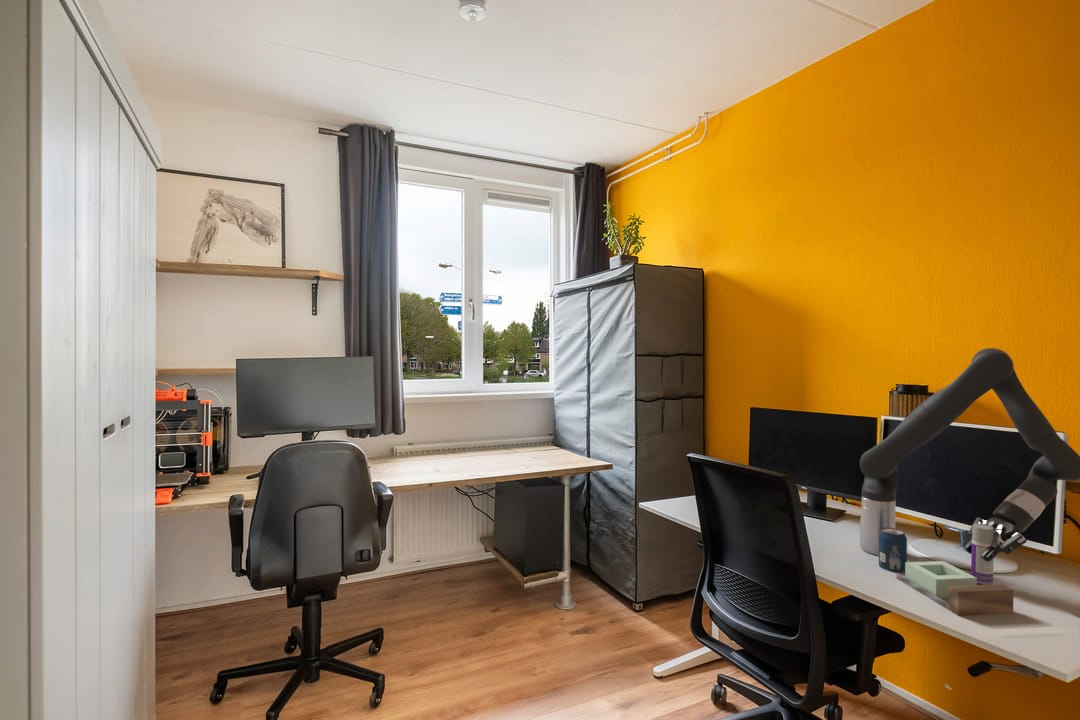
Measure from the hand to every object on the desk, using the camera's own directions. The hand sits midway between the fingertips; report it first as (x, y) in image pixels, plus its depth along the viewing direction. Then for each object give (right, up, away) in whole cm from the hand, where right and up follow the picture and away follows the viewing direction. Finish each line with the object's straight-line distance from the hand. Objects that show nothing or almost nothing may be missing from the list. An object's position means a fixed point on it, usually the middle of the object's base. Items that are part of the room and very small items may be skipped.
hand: (976, 555), depth 149 cm
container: (+2, -7, 0) cm, 8 cm away
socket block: (-11, -8, -2) cm, 14 cm away
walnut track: (-11, -10, -6) cm, 16 cm away
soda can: (-15, -9, +12) cm, 21 cm away
